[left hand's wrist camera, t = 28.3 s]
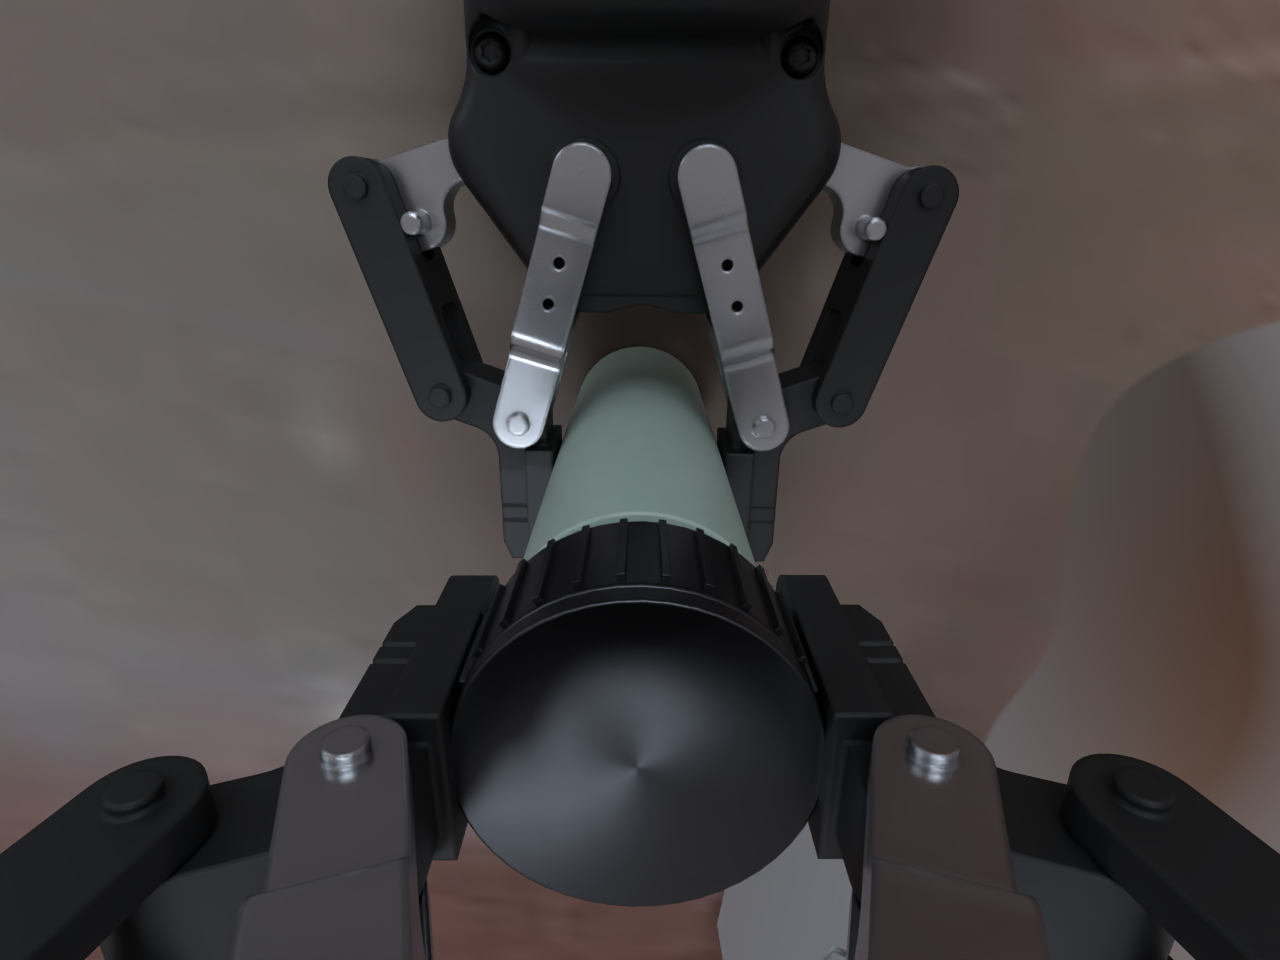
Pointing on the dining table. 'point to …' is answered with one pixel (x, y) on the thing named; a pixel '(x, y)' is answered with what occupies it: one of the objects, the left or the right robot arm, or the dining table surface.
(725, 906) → the electronic device
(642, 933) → the dining table surface
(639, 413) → the pale green tube
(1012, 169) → the dining table surface
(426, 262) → the right robot arm
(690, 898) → the lid
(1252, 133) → the dining table surface
